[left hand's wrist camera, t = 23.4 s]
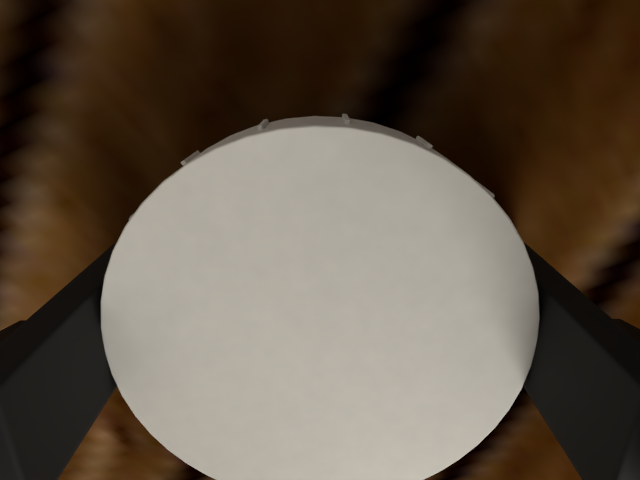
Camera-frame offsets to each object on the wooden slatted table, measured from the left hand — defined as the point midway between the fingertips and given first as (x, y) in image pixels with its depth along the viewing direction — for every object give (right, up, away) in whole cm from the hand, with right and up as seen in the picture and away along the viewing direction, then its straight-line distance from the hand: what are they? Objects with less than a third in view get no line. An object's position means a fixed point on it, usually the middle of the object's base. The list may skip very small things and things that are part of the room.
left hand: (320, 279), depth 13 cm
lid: (0, -1, -3) cm, 3 cm away
